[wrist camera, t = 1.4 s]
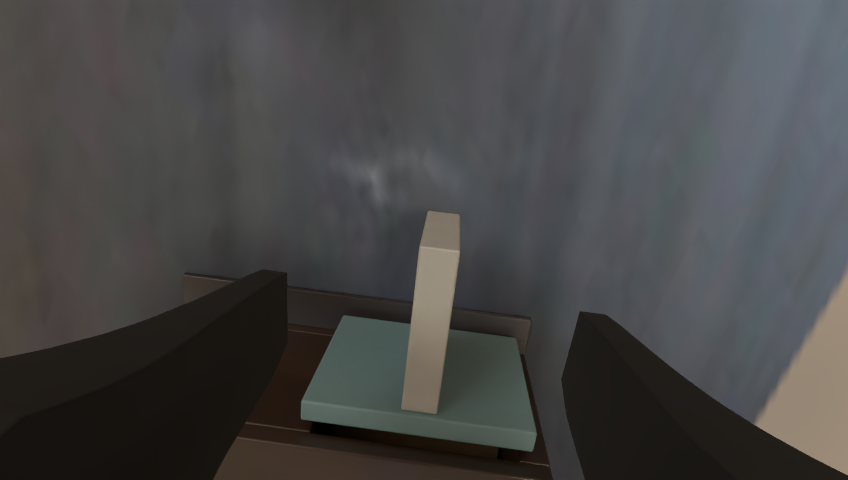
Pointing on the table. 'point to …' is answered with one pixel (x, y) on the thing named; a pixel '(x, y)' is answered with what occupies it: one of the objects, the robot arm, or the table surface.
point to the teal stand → (425, 365)
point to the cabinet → (351, 446)
